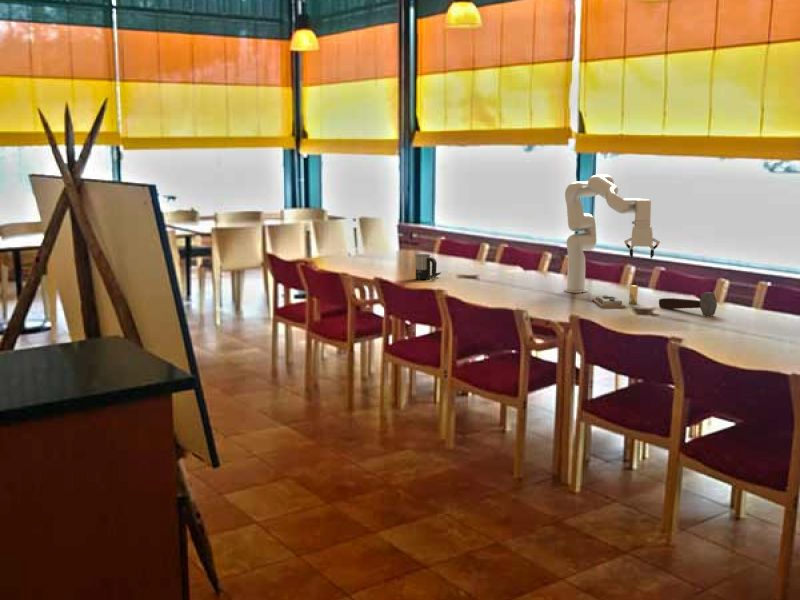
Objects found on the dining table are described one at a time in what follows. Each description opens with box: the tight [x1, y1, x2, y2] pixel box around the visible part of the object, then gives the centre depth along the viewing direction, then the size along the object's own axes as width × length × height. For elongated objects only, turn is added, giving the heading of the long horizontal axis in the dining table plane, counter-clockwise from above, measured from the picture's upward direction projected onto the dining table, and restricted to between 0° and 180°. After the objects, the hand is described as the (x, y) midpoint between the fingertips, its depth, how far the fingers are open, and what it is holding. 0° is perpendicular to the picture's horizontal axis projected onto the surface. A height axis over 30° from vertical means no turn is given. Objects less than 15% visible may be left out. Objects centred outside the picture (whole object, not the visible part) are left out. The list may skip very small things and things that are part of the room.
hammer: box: [658, 291, 718, 317], centre depth 415 cm, size 5×11×30 cm
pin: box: [628, 284, 639, 305], centre depth 436 cm, size 4×4×9 cm
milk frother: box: [414, 253, 442, 280], centre depth 516 cm, size 14×16×15 cm
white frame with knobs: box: [591, 294, 626, 309], centre depth 435 cm, size 20×12×4 cm, turn 0°
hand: (641, 257), depth 433 cm, fingers open, 9 cm apart
